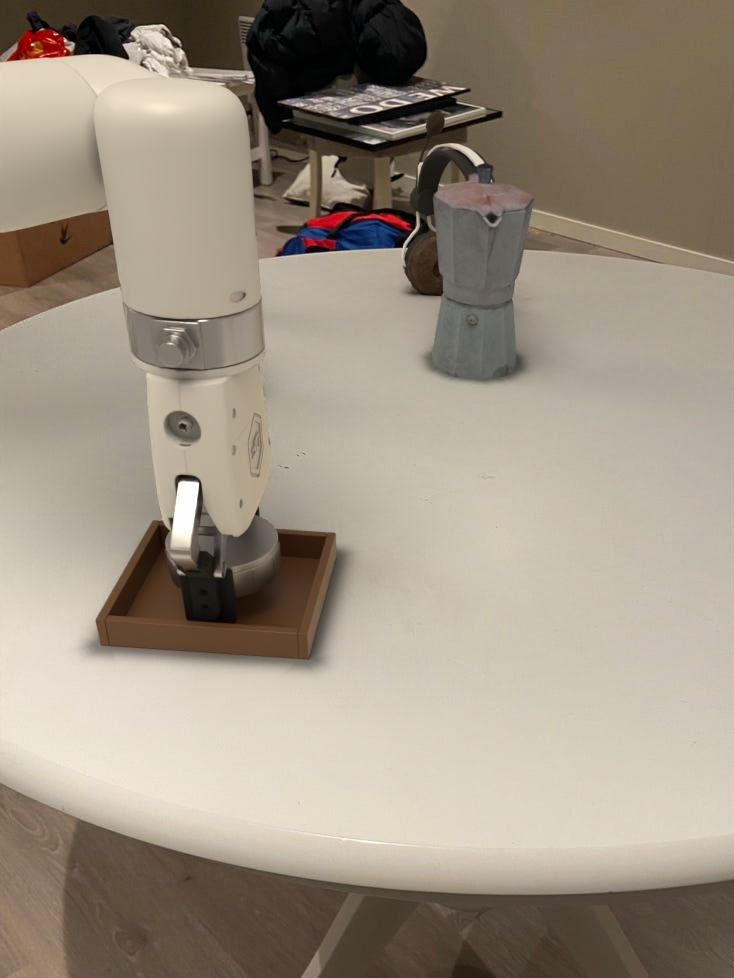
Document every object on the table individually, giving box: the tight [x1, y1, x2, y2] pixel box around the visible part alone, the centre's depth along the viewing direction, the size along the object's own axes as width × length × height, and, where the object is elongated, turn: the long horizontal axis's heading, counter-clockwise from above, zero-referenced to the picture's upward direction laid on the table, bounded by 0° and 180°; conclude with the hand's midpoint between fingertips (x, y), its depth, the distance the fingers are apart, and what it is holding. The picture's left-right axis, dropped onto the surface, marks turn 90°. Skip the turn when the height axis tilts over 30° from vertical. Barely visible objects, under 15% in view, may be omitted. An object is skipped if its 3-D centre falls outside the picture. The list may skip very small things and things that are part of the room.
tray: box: [94, 519, 338, 661], centre depth 67 cm, size 13×12×3 cm
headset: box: [400, 111, 496, 297], centre depth 112 cm, size 17×8×20 cm, turn 34°
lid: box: [165, 515, 281, 598], centre depth 65 cm, size 7×7×2 cm
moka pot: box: [431, 162, 535, 381], centre depth 98 cm, size 10×15×20 cm, turn 12°
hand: (226, 585), depth 67 cm, fingers closed on lid, 7 cm apart
